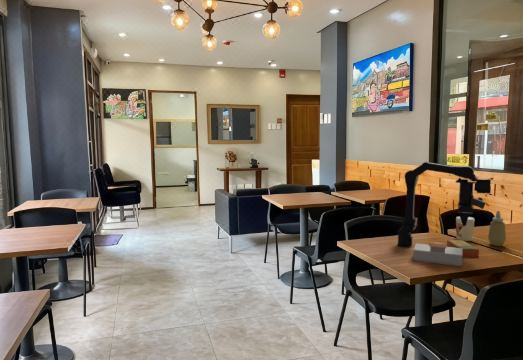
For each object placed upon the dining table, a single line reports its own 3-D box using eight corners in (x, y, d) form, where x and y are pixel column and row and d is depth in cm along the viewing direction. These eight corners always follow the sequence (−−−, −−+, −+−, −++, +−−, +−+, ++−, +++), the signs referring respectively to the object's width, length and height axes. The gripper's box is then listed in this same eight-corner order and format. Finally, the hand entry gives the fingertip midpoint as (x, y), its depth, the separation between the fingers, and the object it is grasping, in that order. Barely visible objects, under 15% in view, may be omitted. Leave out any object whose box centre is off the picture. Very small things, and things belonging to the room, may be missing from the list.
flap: (413, 250, 179) (413, 240, 178) (416, 244, 189) (416, 235, 189) (462, 256, 169) (462, 245, 169) (462, 249, 180) (462, 239, 180)
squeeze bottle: (507, 247, 199) (509, 212, 197) (489, 246, 202) (491, 212, 200) (503, 243, 207) (505, 210, 205) (486, 242, 209) (487, 209, 207)
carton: (462, 248, 200) (463, 240, 200) (479, 257, 184) (479, 248, 184) (446, 247, 200) (446, 239, 200) (461, 257, 184) (461, 248, 184)
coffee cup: (452, 237, 221) (452, 216, 220) (468, 237, 221) (469, 216, 220) (459, 241, 212) (460, 219, 211) (477, 241, 212) (478, 219, 210)
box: (413, 260, 179) (413, 250, 179) (416, 253, 190) (416, 244, 189) (461, 266, 170) (462, 256, 170) (462, 258, 181) (462, 249, 180)
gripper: (486, 195, 175) (484, 229, 177) (484, 190, 192) (482, 222, 194) (458, 194, 180) (457, 227, 182) (458, 189, 197) (457, 219, 199)
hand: (464, 224), depth 189 cm, fingers open, 9 cm apart
